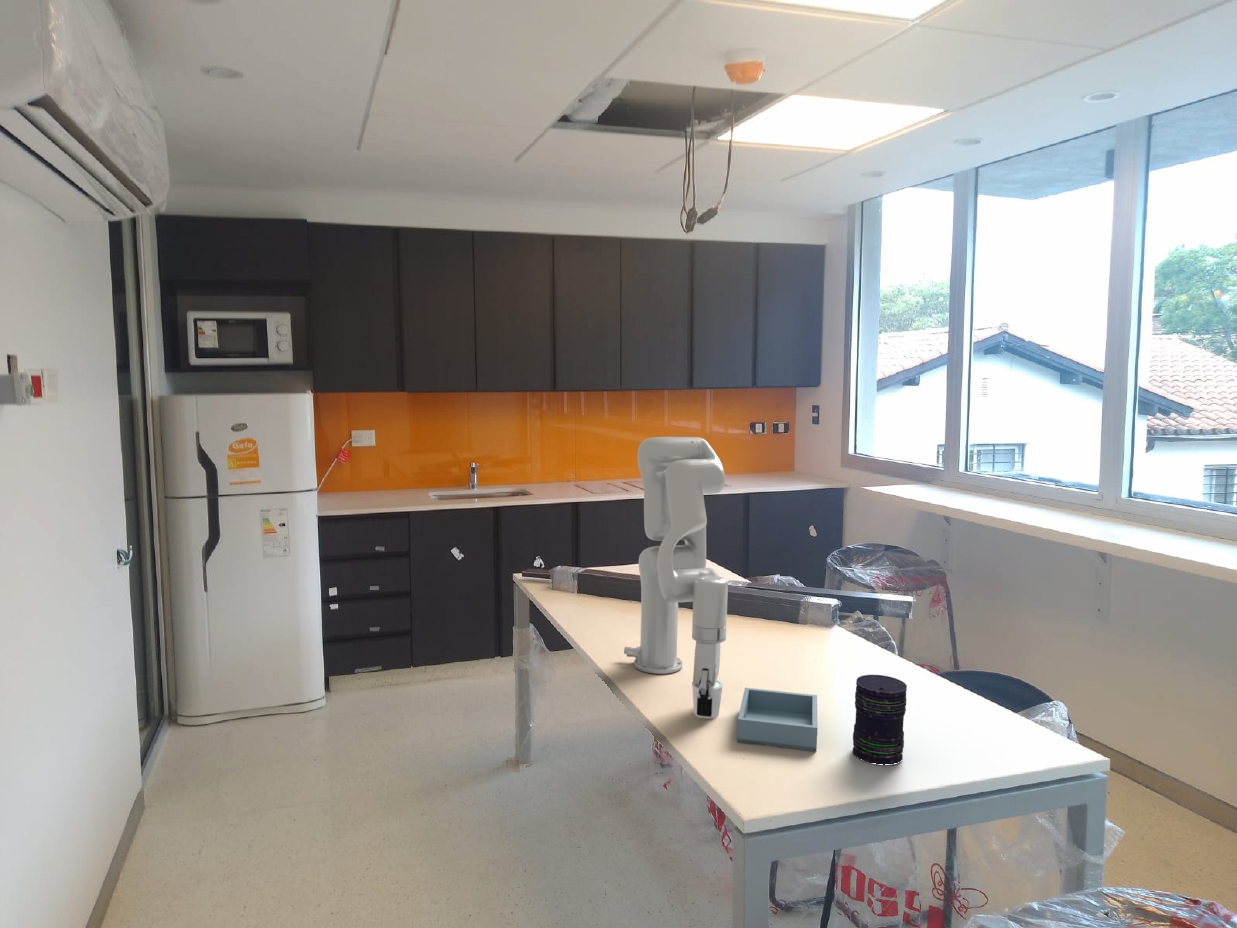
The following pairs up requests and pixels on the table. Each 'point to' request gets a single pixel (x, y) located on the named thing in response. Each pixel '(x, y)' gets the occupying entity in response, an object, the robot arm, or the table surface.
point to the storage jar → (879, 719)
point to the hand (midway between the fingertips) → (706, 707)
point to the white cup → (715, 697)
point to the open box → (778, 719)
